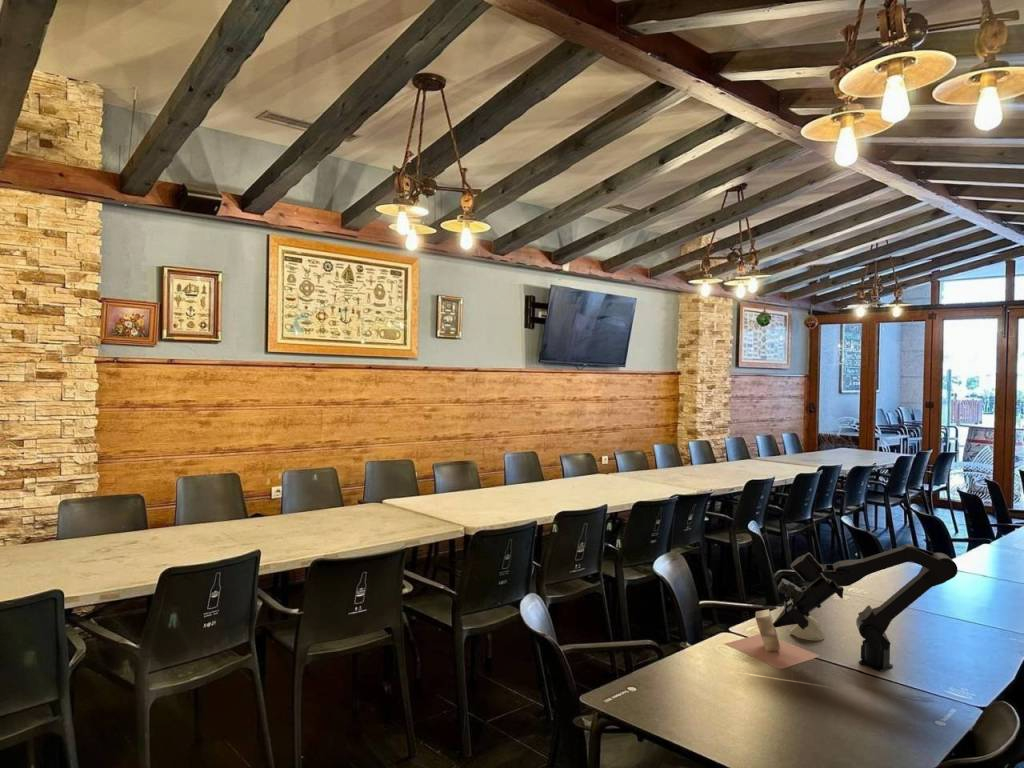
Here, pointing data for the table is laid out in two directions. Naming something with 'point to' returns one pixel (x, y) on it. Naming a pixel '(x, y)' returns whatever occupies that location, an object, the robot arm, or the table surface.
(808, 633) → the seashell
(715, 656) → the table surface
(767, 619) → the birch block
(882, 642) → the robot arm
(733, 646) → the rubber mat
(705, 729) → the table surface
